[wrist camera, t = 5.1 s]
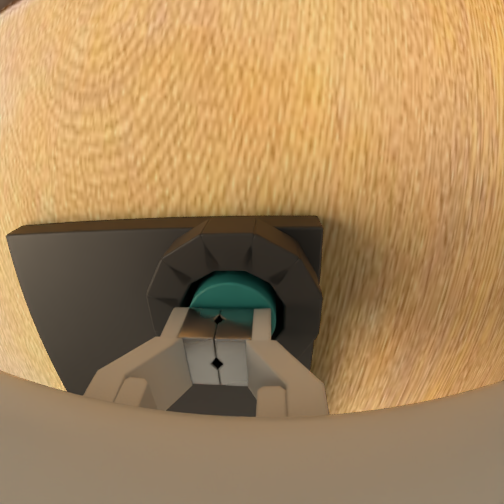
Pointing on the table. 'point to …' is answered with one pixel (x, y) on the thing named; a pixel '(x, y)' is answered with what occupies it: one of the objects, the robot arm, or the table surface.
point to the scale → (161, 288)
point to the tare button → (235, 293)
